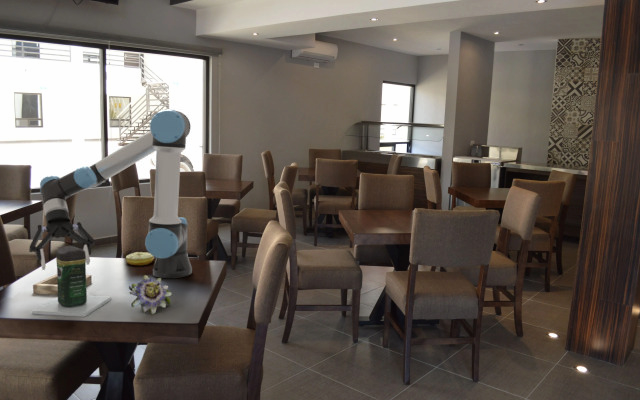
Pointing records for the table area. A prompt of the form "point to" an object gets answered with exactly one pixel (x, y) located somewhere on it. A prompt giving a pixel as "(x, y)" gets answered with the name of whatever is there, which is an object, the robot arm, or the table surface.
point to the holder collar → (52, 285)
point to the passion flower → (150, 294)
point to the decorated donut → (139, 258)
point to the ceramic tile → (82, 310)
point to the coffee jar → (71, 276)
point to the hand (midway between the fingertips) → (66, 265)
